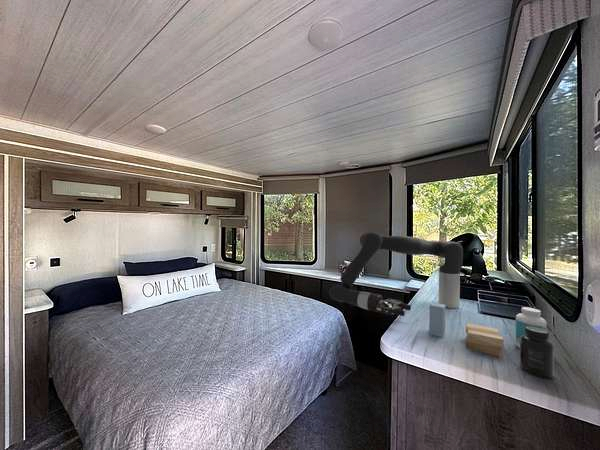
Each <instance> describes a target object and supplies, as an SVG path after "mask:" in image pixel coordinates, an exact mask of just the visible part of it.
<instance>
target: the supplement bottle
mask: <svg viewBox="0 0 600 450" xmlns="http://www.w3.org/2000/svg"><path fill="white" fill-rule="evenodd" d="M525 334H526V335H523V336H521V337H520V348H519V366H520V368H521V369H522V370H524V371H525V372H527V373H529V374H531V375H533V376H536V377H540V378H544V379H551V378H552V377H553V376H554V365H555V364H554V362H555V360H554V359H555V358H554V357H555V346H554V345H553V343H552V342H551V341H550V340H549V339H550V333H549V331H548V330H544V329H541V328H538V327H533V326H525Z"/></svg>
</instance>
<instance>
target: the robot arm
mask: <svg viewBox="0 0 600 450" xmlns="http://www.w3.org/2000/svg"><path fill="white" fill-rule="evenodd" d="M359 243H360V245H361V249H360V250H359V252H358V254H357V255H356V256H355V257H354V258H353V259H352V260H351V262H350V263H349V264H348V265H347V267H346V268H345V270H344V271H343V273H342V274H341V276H340V282H341V283H340V285H333V286H331V287H330V289H329V290H328V294H329V297H330V298H331V299H332V300H334V301H336V302H339V303H346V304H349V305H351V306H356V307H359V308H361V309H364V310H367V311H372V312H375V313H381V314H385V315H388V316H391V315H397V316H400V317H404V316H405V311H411V309H412V305H410V304H408V303H403V302H402V300H399V299H394V298H389V297H388V298H387V299H384V298H383V296H382V295H381V294H378V293H373V292H367V291H361V290H356V289H353V285H354V283H355V282H356V281H357V279H358V277H359V276H360V274H361V272H362V271H363V269H364V268H365V266H366V265H367V263H368V262H370V260H371V259H372V257H373V256H374V255H375V254H376V253H377V251H379V250H386V251H389V252H390V251H391V252H394V253H398V254H399V253H400V254H403V255H411V256H419V255H420V256H422V255H429V256H435V257H439V258H441V259H444V263H443V264H442V265H439V268H438V294H437V295H438V297H437V299H438V301H437V303H439V304H444V305H446V308H449V309H459V308H460V297H461V295H460V293H461V292H460V291H461V287H460V286H461V285H460V284H461V270H462V268H463V259H464V248H463V246H462V245H461V243H459V242H456V241H448V240H446V241H443V240H440V241H436V240H435V241H434V240H426V239H424V238H420V237H414V236H407V235H384V234H379V233H378V232H375V231H366V232H364V233H363V234H362V235H361V236H360V238H359Z"/></svg>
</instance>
